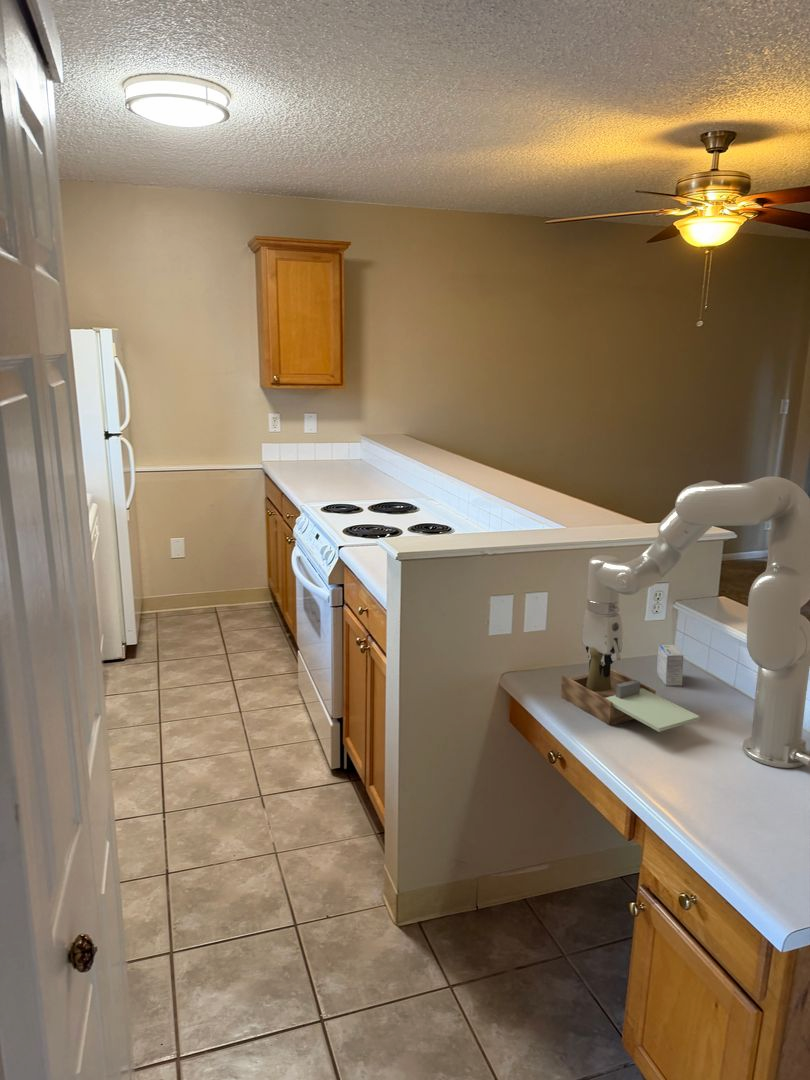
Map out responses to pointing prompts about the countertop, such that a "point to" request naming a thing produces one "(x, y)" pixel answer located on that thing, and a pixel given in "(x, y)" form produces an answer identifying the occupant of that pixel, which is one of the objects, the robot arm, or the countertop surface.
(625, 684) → the lid
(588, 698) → the wooden drawer box
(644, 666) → the countertop surface
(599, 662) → the cork
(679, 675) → the medicine box
